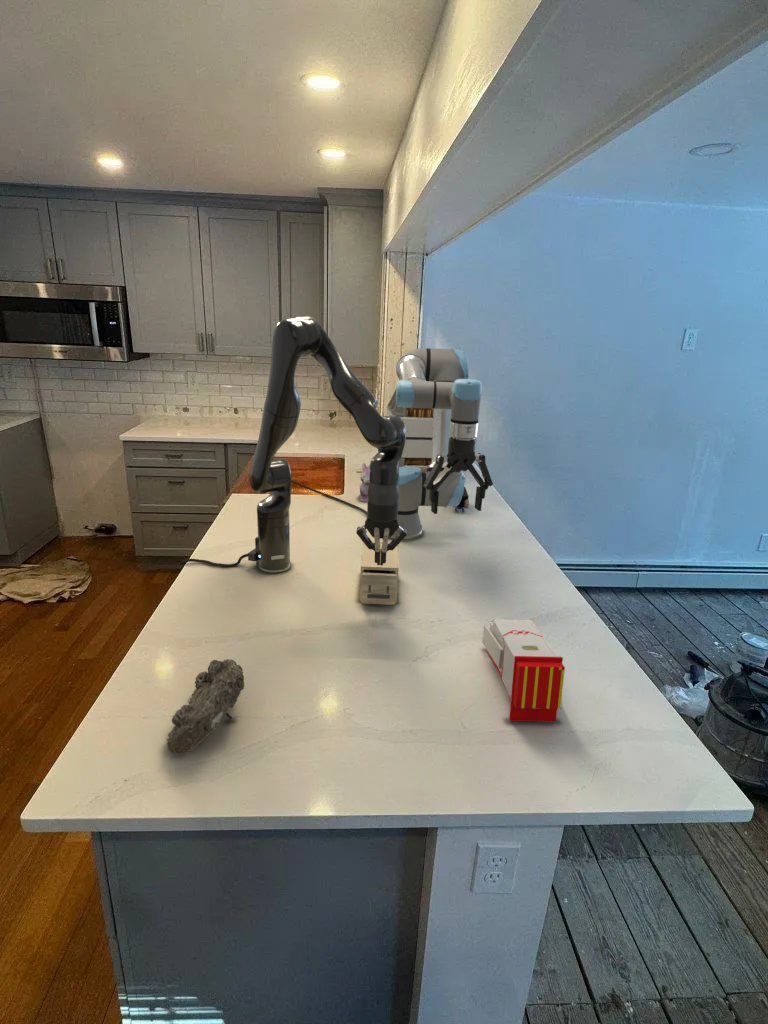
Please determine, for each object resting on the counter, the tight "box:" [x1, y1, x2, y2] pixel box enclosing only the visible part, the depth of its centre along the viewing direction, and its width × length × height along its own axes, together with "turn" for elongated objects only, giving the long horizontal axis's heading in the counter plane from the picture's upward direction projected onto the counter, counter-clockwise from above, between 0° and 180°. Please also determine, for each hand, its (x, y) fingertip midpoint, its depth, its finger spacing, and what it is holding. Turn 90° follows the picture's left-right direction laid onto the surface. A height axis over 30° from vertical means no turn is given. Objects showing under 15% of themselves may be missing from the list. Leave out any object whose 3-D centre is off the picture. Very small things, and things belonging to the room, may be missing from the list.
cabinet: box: [359, 542, 400, 604], centre depth 159 cm, size 16×10×10 cm, turn 179°
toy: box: [481, 618, 566, 722], centre depth 122 cm, size 12×13×30 cm
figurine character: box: [452, 486, 470, 513], centre depth 227 cm, size 7×8×15 cm
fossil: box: [166, 658, 245, 754], centre depth 106 cm, size 22×10×15 cm
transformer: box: [385, 389, 462, 473], centre depth 268 cm, size 34×33×41 cm
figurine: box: [358, 463, 370, 503], centre depth 232 cm, size 9×10×15 cm
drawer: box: [361, 570, 396, 606], centre depth 153 cm, size 21×9×8 cm, turn 0°
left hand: (380, 564), depth 143 cm, fingers closed
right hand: (456, 511), depth 161 cm, fingers open, 13 cm apart
